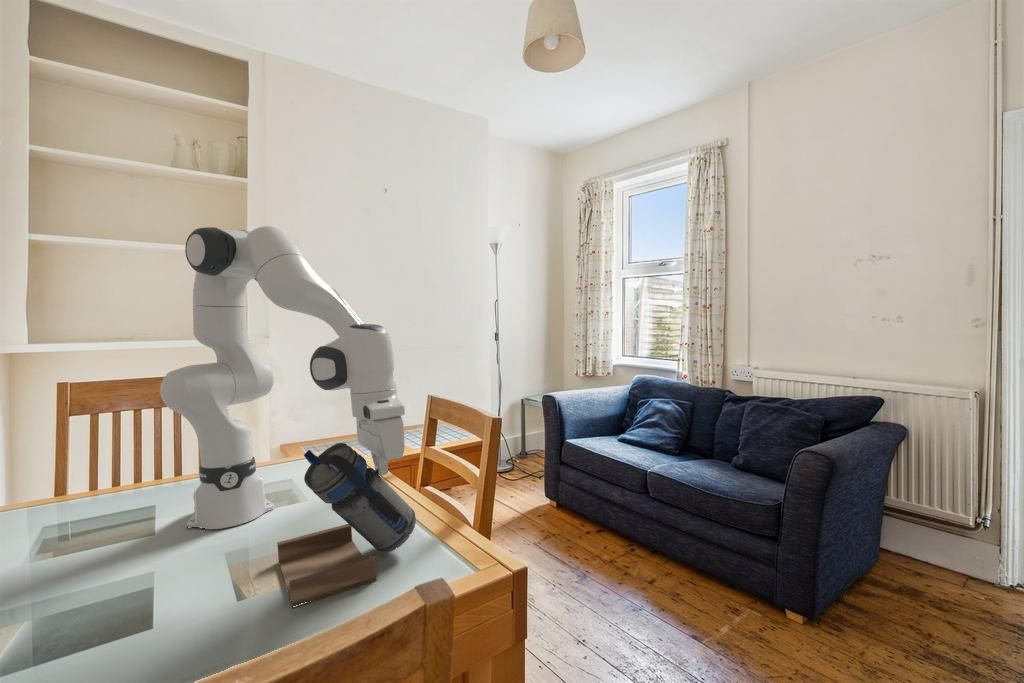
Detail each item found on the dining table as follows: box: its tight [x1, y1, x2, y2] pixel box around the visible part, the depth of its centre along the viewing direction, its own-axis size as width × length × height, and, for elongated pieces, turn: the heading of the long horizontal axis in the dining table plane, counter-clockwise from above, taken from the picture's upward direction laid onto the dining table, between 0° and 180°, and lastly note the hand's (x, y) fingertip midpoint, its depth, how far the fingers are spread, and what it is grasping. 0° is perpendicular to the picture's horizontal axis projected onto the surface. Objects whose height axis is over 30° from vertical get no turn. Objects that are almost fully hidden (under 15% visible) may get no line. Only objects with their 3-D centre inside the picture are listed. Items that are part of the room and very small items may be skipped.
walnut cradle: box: [276, 523, 378, 608], centre depth 91 cm, size 19×14×4 cm
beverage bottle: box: [303, 442, 417, 553], centre depth 93 cm, size 10×13×25 cm
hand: (381, 473), depth 95 cm, fingers closed
